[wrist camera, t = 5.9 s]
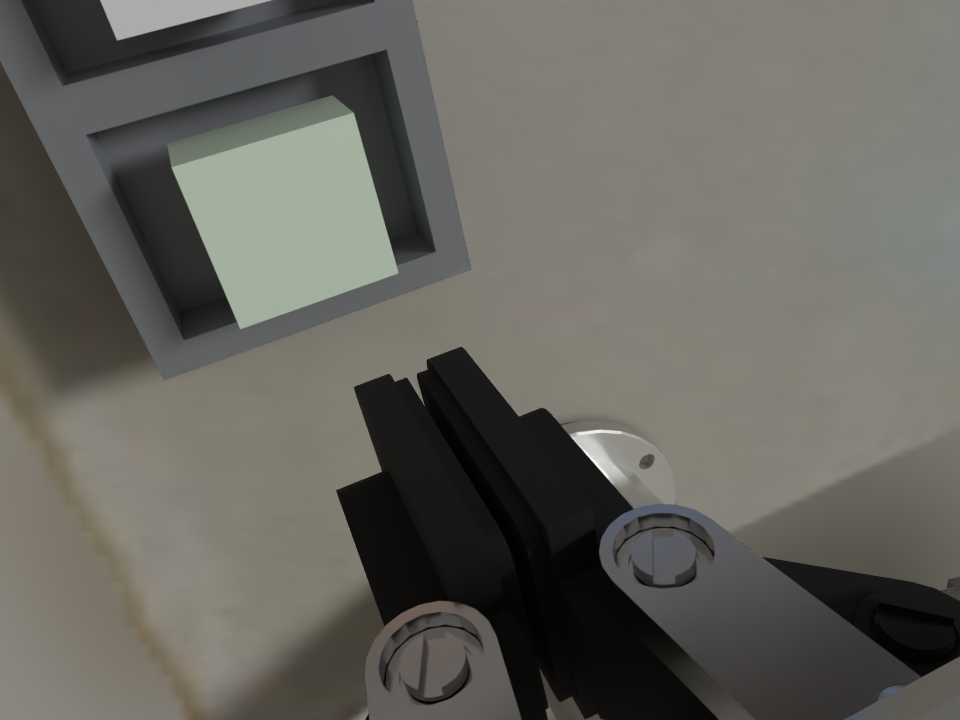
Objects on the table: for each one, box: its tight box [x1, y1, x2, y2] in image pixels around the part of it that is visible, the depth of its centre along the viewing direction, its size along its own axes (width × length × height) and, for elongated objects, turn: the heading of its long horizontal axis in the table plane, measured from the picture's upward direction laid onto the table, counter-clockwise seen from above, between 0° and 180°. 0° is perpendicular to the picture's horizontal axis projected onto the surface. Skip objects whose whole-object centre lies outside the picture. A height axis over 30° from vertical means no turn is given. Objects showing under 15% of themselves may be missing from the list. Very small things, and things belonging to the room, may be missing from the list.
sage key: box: [167, 95, 398, 329], centre depth 21 cm, size 5×5×2 cm
